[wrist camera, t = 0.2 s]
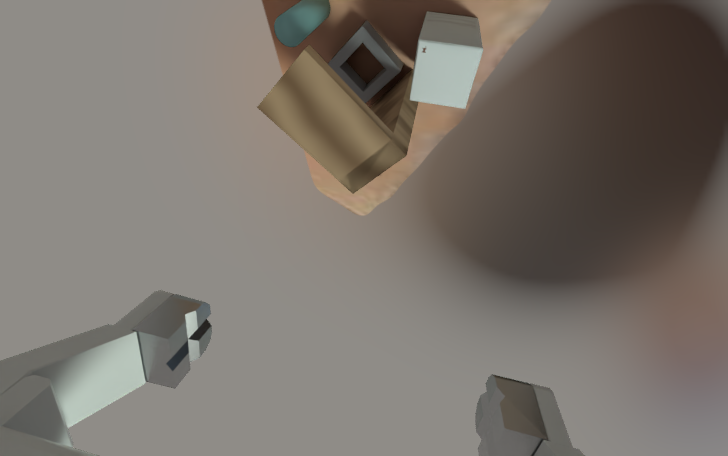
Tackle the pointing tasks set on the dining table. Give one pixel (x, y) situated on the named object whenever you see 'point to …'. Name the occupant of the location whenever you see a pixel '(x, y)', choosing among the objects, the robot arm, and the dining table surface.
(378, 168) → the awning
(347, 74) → the socket
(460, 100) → the supplement box
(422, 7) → the dining table surface
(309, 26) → the peg
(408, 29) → the dining table surface
